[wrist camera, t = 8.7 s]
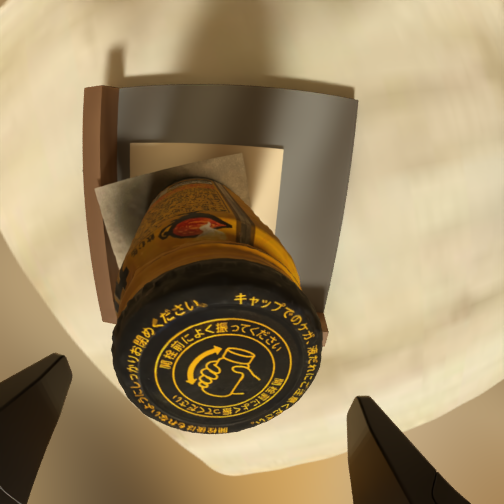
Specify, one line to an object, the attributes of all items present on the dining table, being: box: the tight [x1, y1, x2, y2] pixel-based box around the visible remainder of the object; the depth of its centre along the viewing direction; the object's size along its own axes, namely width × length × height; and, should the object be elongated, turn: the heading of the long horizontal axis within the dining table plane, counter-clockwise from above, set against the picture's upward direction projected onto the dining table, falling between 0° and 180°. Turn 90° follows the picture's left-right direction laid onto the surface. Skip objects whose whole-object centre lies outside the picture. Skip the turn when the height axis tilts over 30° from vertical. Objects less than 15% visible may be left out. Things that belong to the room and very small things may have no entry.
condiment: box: [95, 153, 323, 434], centre depth 12 cm, size 7×8×12 cm
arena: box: [83, 84, 358, 346], centre depth 18 cm, size 15×15×3 cm
